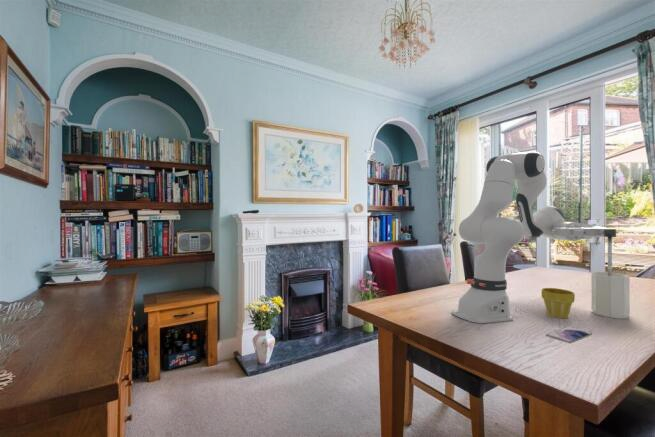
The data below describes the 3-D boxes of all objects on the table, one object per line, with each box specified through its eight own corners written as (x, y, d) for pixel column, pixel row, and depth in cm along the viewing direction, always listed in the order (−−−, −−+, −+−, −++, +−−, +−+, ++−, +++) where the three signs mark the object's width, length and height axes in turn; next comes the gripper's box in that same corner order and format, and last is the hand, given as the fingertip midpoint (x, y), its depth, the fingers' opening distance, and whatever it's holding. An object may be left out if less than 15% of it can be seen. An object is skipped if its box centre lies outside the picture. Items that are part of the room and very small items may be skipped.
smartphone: (593, 333, 99) (570, 342, 92) (593, 335, 99) (570, 344, 92) (567, 326, 105) (544, 333, 98) (567, 328, 105) (544, 336, 98)
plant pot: (581, 320, 111) (581, 294, 111) (549, 319, 113) (549, 293, 113) (564, 312, 121) (564, 288, 121) (536, 310, 123) (536, 287, 123)
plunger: (617, 287, 113) (617, 229, 113) (592, 283, 120) (592, 229, 120) (627, 285, 116) (627, 229, 116) (602, 281, 123) (602, 228, 123)
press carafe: (620, 320, 111) (620, 277, 111) (586, 312, 121) (586, 273, 121) (637, 315, 117) (637, 274, 117) (604, 308, 126) (604, 270, 126)
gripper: (547, 224, 139) (570, 225, 125) (593, 224, 138) (621, 225, 124) (547, 238, 139) (570, 240, 125) (593, 238, 138) (621, 240, 124)
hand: (596, 232), depth 125 cm, fingers open, 8 cm apart
